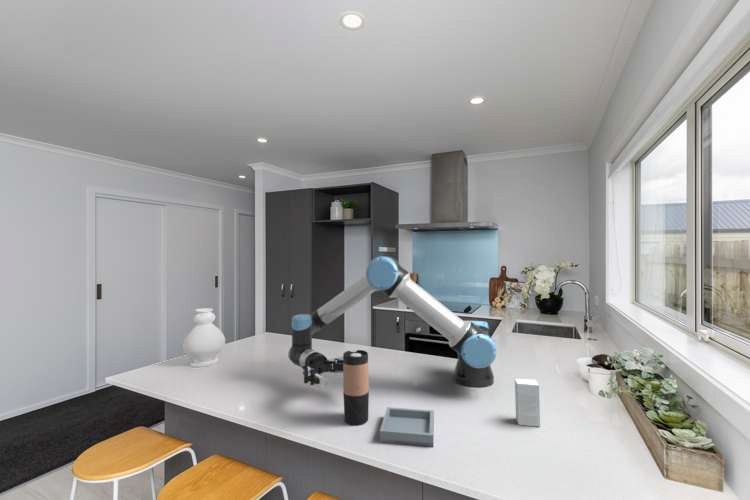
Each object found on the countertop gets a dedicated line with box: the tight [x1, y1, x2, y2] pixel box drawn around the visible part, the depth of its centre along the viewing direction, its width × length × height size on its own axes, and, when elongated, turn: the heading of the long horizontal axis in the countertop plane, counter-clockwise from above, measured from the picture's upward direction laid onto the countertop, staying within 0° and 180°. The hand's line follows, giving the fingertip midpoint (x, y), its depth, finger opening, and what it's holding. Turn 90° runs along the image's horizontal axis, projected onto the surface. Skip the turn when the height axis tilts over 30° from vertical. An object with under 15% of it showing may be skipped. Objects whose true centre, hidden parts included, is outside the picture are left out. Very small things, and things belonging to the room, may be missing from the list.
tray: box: [379, 406, 435, 448], centre depth 96 cm, size 14×14×3 cm
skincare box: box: [514, 378, 541, 428], centre depth 99 cm, size 6×4×12 cm
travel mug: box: [342, 349, 370, 426], centre depth 102 cm, size 8×8×20 cm
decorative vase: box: [182, 307, 226, 368], centre depth 159 cm, size 18×18×25 cm
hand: (345, 378), depth 106 cm, fingers open, 13 cm apart
